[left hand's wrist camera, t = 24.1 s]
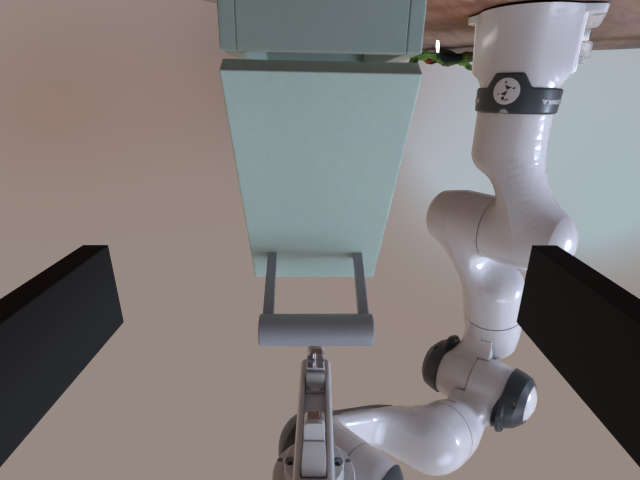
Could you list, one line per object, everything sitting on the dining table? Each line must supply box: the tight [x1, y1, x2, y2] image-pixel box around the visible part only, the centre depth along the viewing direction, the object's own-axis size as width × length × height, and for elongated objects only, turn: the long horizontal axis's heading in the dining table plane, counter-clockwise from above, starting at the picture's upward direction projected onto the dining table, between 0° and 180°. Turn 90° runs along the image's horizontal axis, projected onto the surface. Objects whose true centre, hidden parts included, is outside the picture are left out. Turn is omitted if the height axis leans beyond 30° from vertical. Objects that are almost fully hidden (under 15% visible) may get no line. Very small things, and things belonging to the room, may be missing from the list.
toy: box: [409, 49, 473, 70], centre depth 100 cm, size 32×5×30 cm
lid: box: [220, 59, 422, 346], centre depth 24 cm, size 18×10×9 cm
